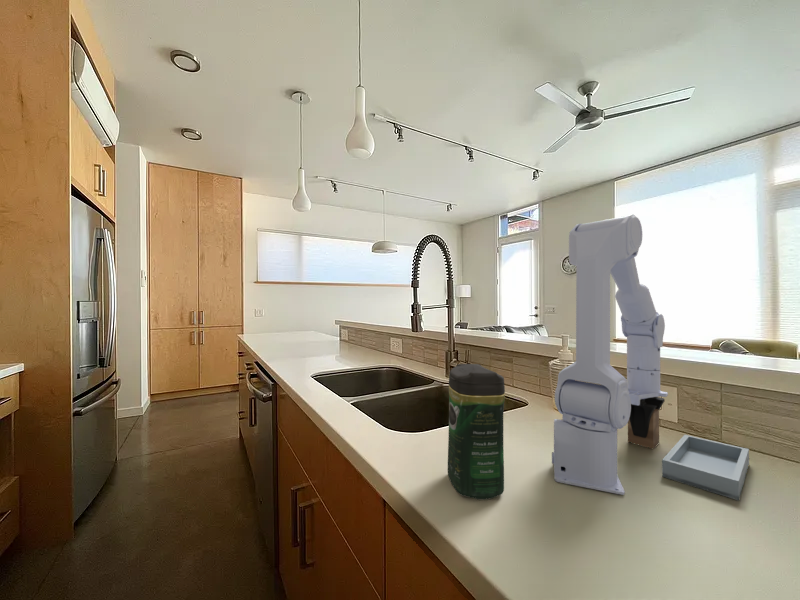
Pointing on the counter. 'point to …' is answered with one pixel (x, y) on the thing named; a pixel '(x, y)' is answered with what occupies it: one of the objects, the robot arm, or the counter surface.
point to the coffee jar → (476, 431)
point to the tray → (707, 465)
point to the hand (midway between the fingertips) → (643, 433)
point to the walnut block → (652, 434)
